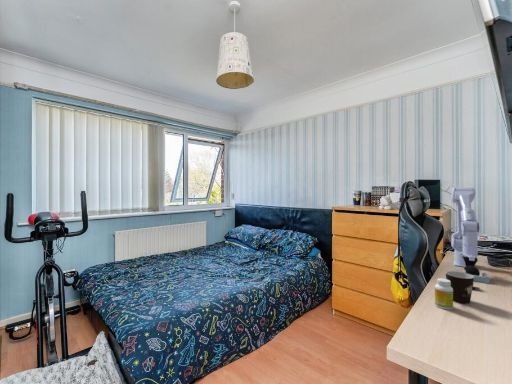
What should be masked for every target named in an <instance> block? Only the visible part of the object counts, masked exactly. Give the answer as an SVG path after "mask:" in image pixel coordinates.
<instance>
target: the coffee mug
mask: <svg viewBox="0 0 512 384" xmlns="http://www.w3.org/2000/svg"><path fill="white" fill-rule="evenodd" d="M445 279H447V280H450V281H451V285H450V286H451V287H452V288H453V303H457V304H460V305H461V304H462V305H469V304H470V303H471V298H472V292H473V290H472V287H474V284H473V283H474V282H475V281H474V276H473V275H470V274H467V273H464V272H463V271H460V272H458V271H456V270H455V271H454V270H447V271H445Z"/></svg>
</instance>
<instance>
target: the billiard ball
mask: <svg viewBox="0 0 512 384" xmlns="http://www.w3.org/2000/svg"><path fill="white" fill-rule="evenodd" d="M462 272H463V273H467V274H470V275H476V276H481V273H480V270H479V268H478V267H476V266H466V267H463V270H462Z"/></svg>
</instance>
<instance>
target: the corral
mask: <svg viewBox="0 0 512 384" xmlns="http://www.w3.org/2000/svg"><path fill="white" fill-rule="evenodd" d="M455 271H458V272H461V271H460V269H459V268H456V269H455ZM473 276H474V281H473V282H478V283H483V284H490V277H489V276H488V274H487V273H486V272H482V273H481V275H479V276H476V275H473Z"/></svg>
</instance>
